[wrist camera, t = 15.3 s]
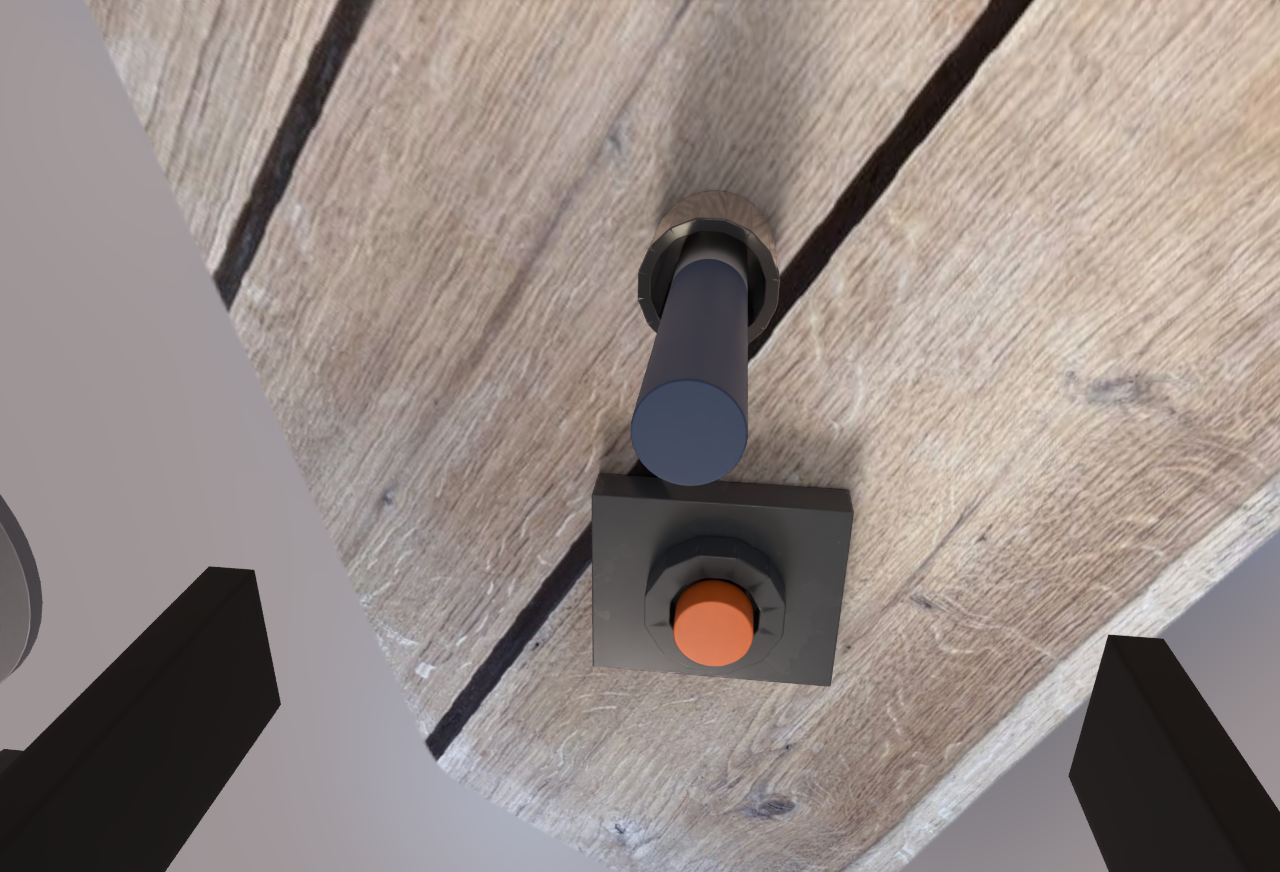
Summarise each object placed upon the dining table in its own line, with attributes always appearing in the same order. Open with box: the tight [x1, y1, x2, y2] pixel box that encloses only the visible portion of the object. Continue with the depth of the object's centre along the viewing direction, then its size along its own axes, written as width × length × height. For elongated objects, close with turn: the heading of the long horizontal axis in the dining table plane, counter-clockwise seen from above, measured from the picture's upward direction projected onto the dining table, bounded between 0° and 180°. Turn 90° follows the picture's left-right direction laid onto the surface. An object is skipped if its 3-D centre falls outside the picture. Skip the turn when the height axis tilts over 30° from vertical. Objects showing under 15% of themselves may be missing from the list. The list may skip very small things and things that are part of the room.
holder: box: [638, 191, 780, 344], centre depth 36 cm, size 5×5×6 cm
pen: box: [631, 231, 748, 486], centre depth 29 cm, size 3×3×18 cm
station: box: [592, 474, 854, 686], centre depth 43 cm, size 12×10×4 cm
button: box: [673, 580, 753, 666], centre depth 41 cm, size 4×4×2 cm
